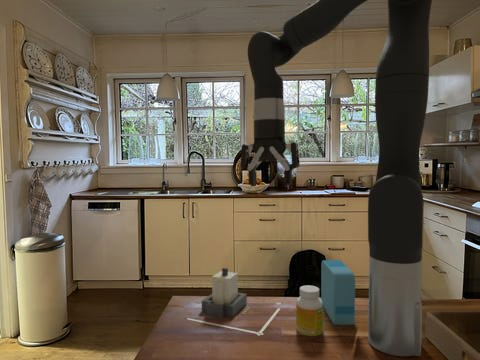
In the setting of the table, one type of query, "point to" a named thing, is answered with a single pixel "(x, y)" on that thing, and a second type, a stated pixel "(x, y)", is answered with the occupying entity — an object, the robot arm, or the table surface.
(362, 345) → the table surface
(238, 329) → the header board
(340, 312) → the data package
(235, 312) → the frame
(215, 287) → the plug
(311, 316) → the supplement bottle
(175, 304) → the table surface
